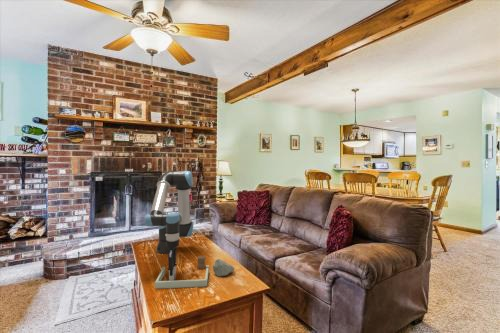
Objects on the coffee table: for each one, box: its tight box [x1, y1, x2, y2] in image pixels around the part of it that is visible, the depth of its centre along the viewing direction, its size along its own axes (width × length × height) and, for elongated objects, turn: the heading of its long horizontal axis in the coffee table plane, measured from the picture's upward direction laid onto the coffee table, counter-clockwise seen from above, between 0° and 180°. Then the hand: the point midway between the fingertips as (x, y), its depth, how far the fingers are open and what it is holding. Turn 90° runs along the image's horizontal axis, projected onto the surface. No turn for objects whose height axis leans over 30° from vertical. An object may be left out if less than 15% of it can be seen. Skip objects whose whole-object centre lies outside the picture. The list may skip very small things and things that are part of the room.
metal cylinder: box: [174, 265, 177, 281], centre depth 149 cm, size 4×4×7 cm
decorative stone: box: [212, 258, 235, 277], centre depth 157 cm, size 13×11×10 cm
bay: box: [154, 264, 210, 290], centre depth 148 cm, size 18×29×4 cm, turn 97°
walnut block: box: [197, 255, 206, 270], centre depth 166 cm, size 4×4×7 cm
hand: (172, 278), depth 149 cm, fingers closed on metal cylinder, 4 cm apart
